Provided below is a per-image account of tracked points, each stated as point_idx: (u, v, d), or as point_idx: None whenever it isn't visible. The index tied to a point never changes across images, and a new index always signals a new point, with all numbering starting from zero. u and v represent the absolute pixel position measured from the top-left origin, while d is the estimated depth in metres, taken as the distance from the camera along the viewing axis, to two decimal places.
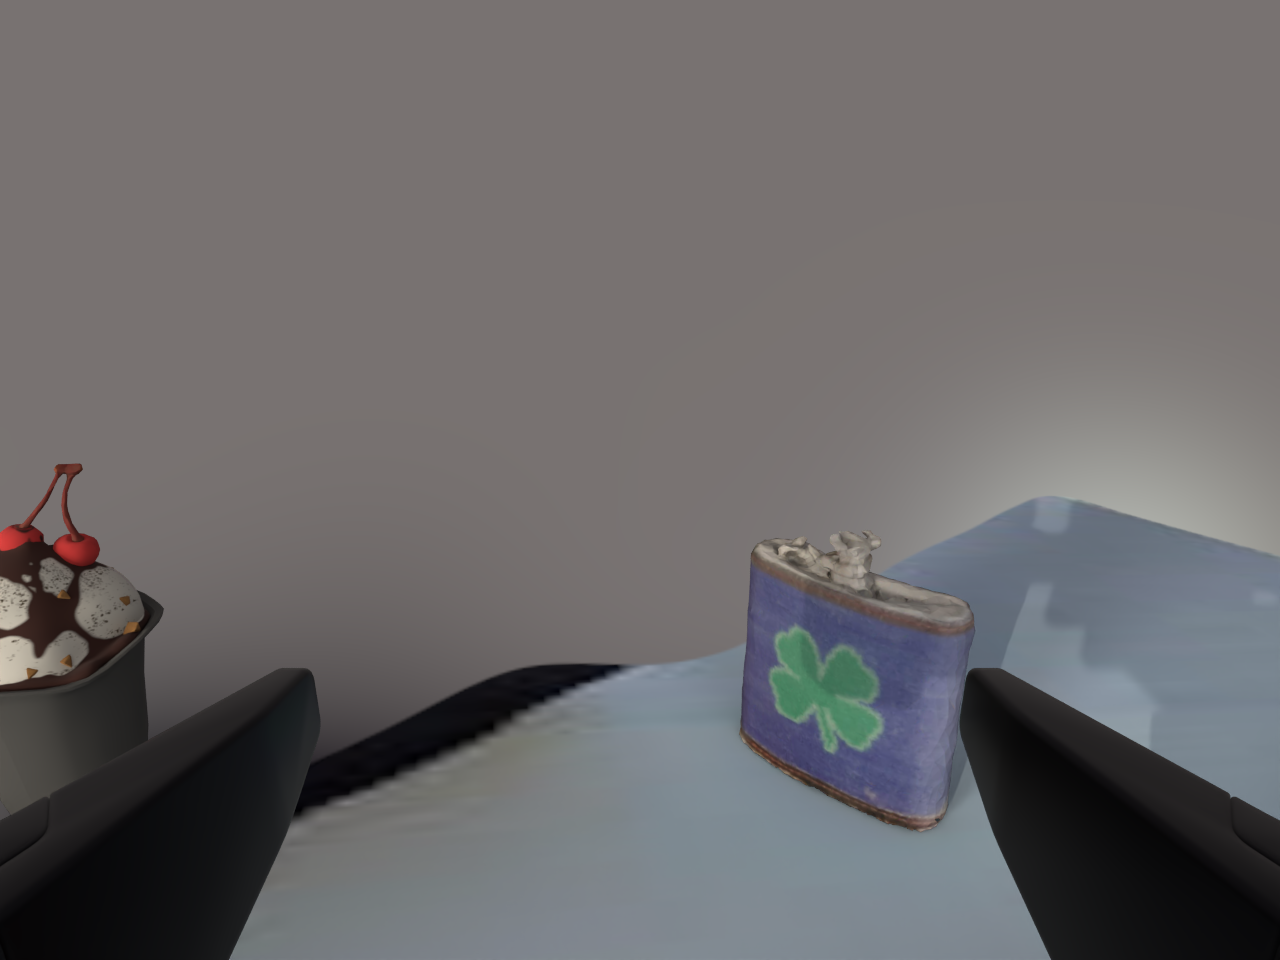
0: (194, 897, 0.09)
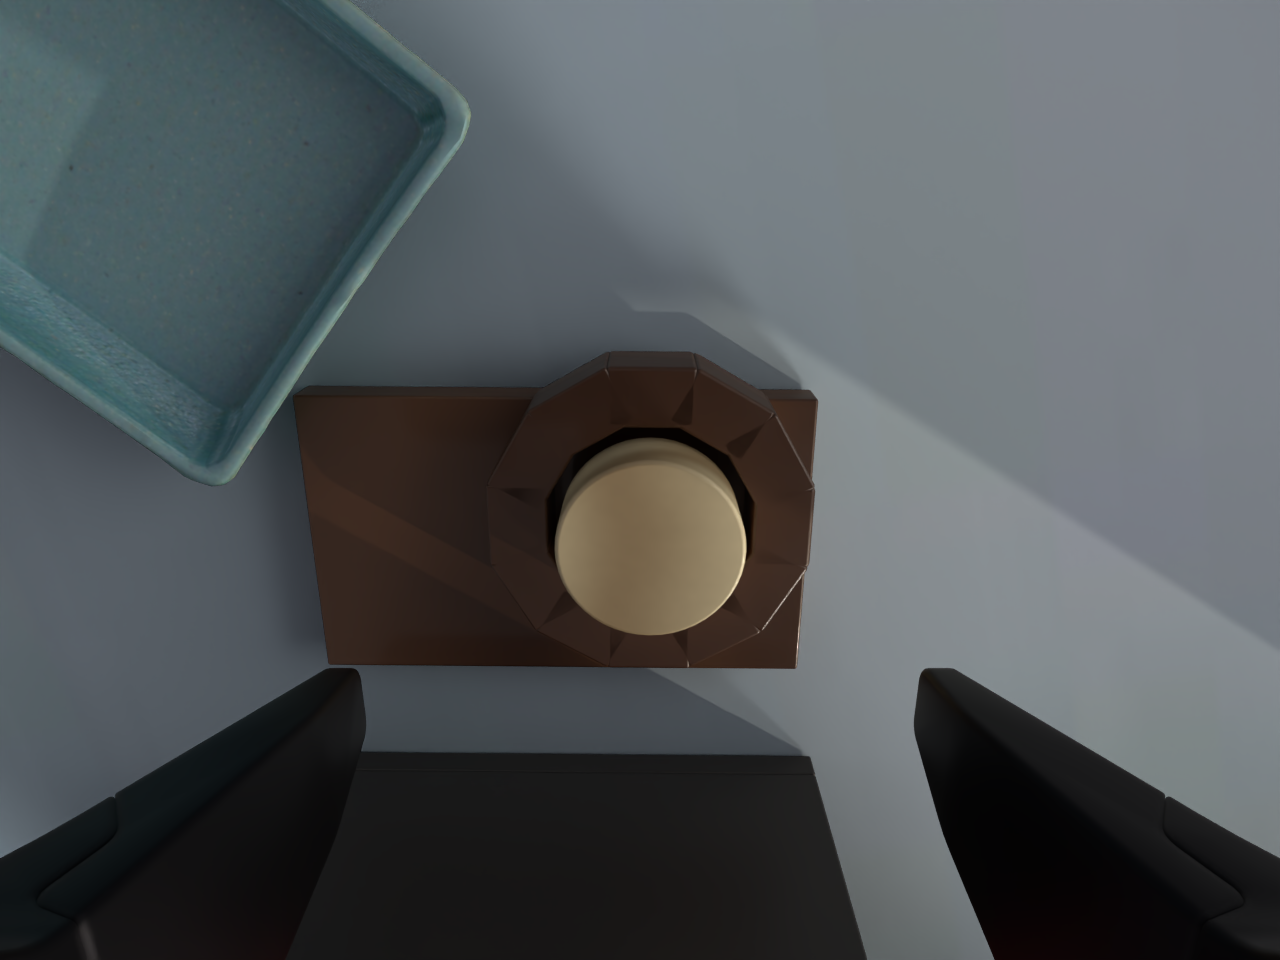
0: (255, 897, 0.09)
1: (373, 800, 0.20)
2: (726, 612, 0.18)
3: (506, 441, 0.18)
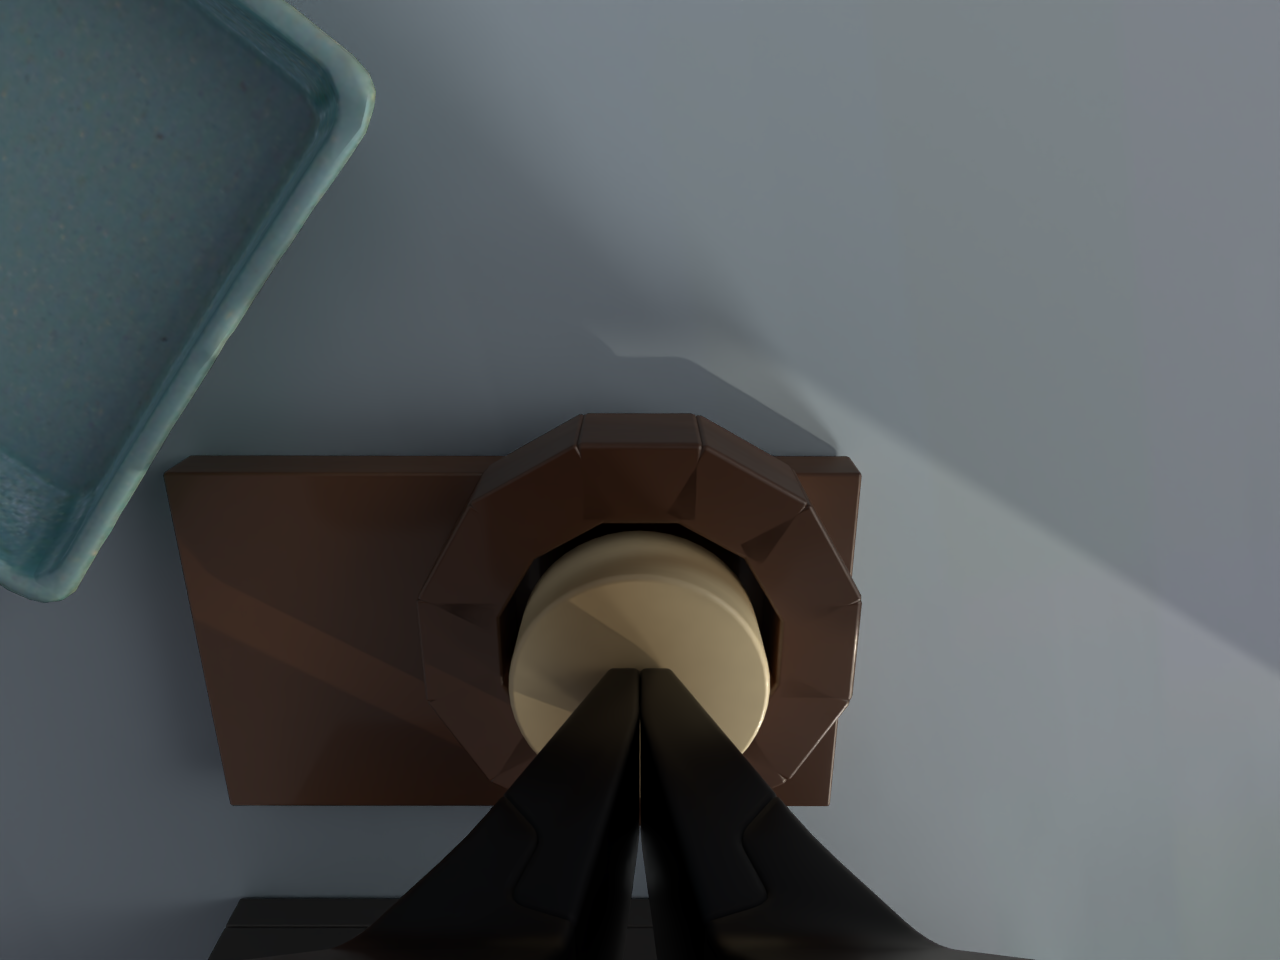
0: (618, 896, 0.09)
1: None
2: None
3: (449, 530, 0.14)
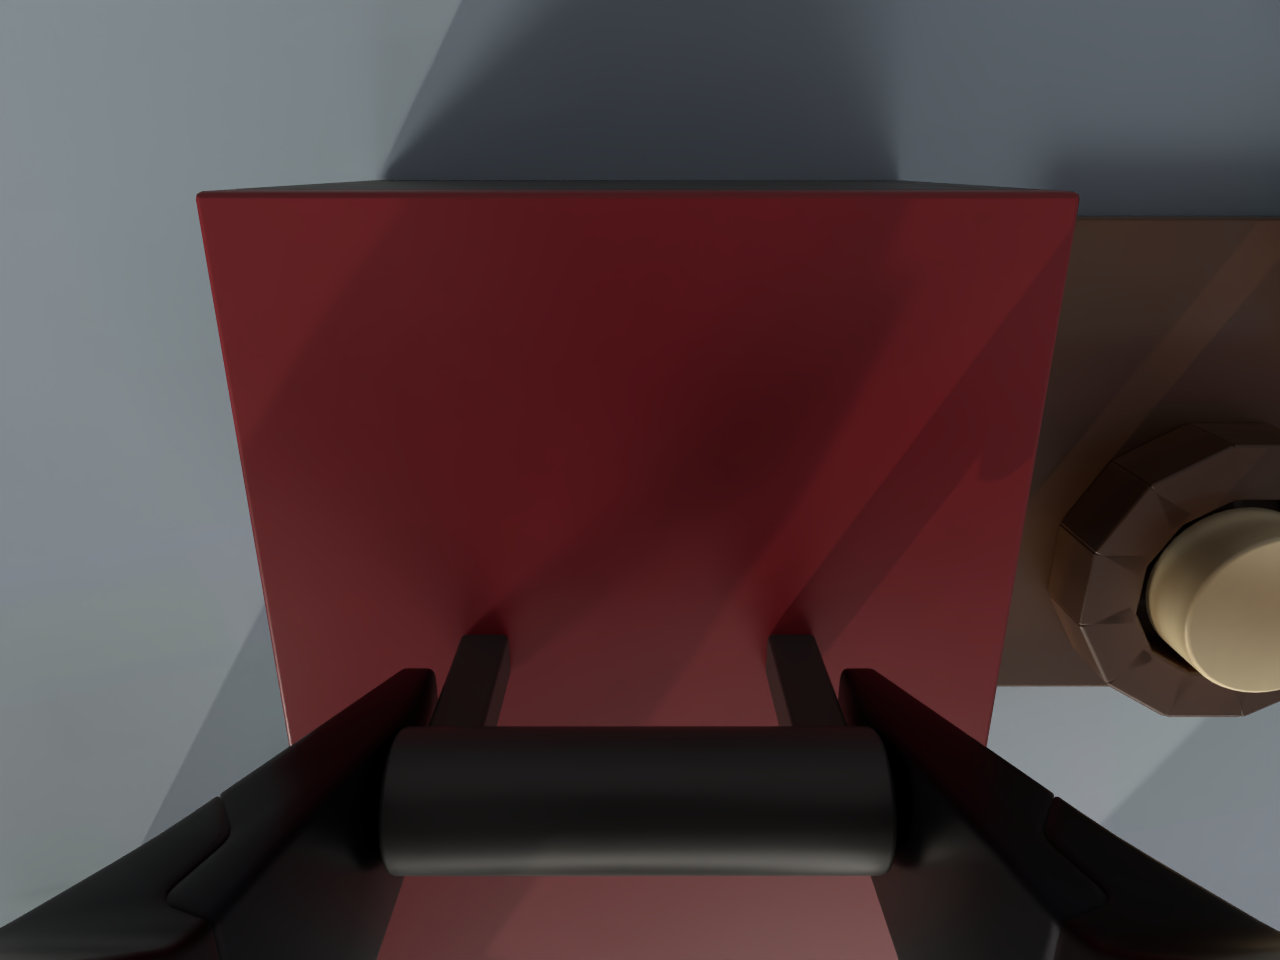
0: (353, 897, 0.09)
1: None
2: (1134, 655, 0.19)
3: None
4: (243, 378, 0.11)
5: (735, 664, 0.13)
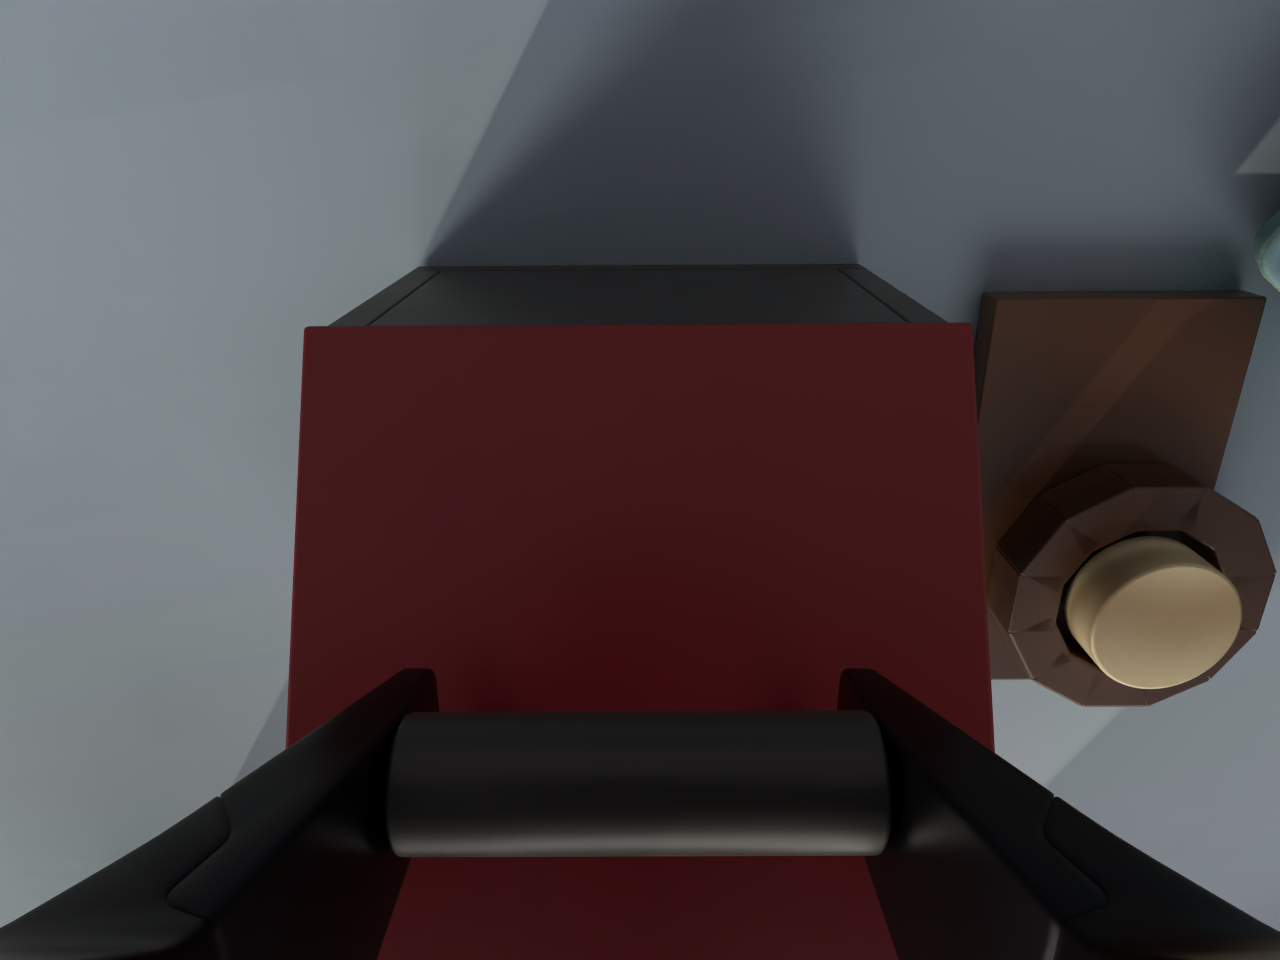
0: (353, 897, 0.09)
1: None
2: (1055, 656, 0.23)
3: (1183, 469, 0.22)
4: (312, 466, 0.14)
5: None
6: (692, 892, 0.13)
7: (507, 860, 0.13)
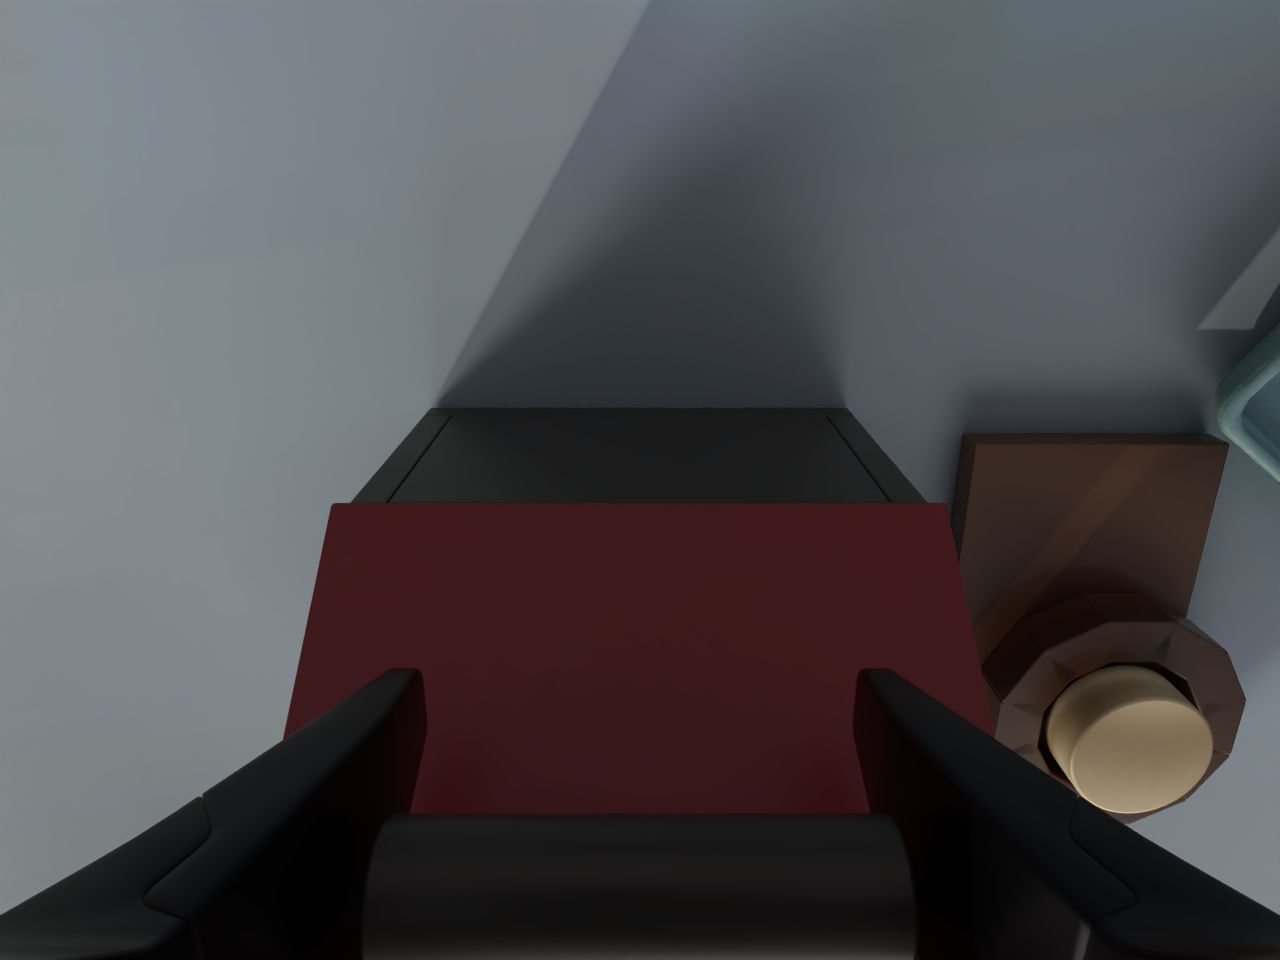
0: (336, 897, 0.09)
1: None
2: None
3: (1156, 599, 0.23)
4: (320, 626, 0.14)
5: None
6: None
7: None
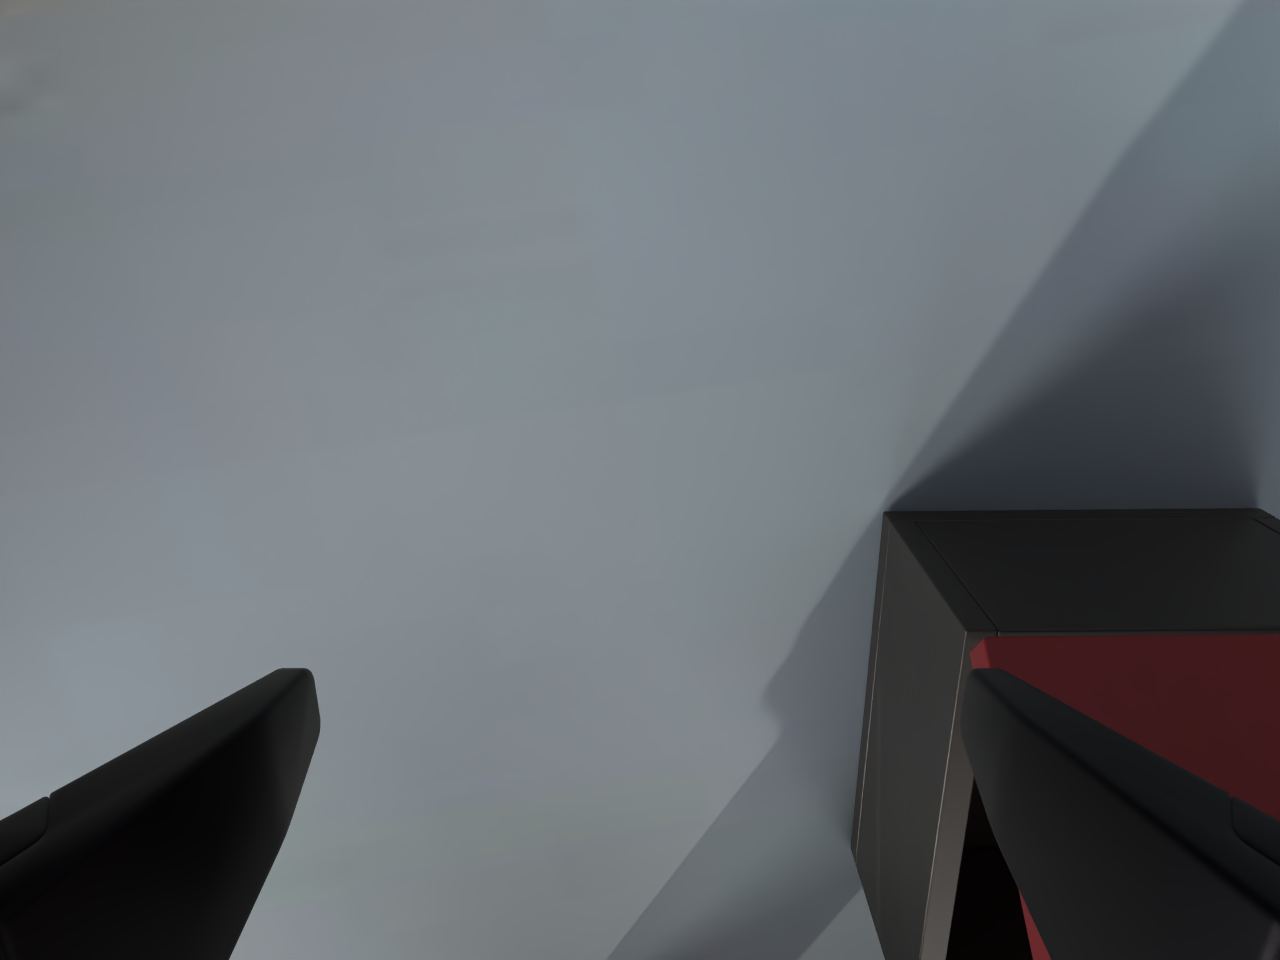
0: (194, 897, 0.09)
1: None
2: None
3: None
4: None
5: None
6: None
7: None
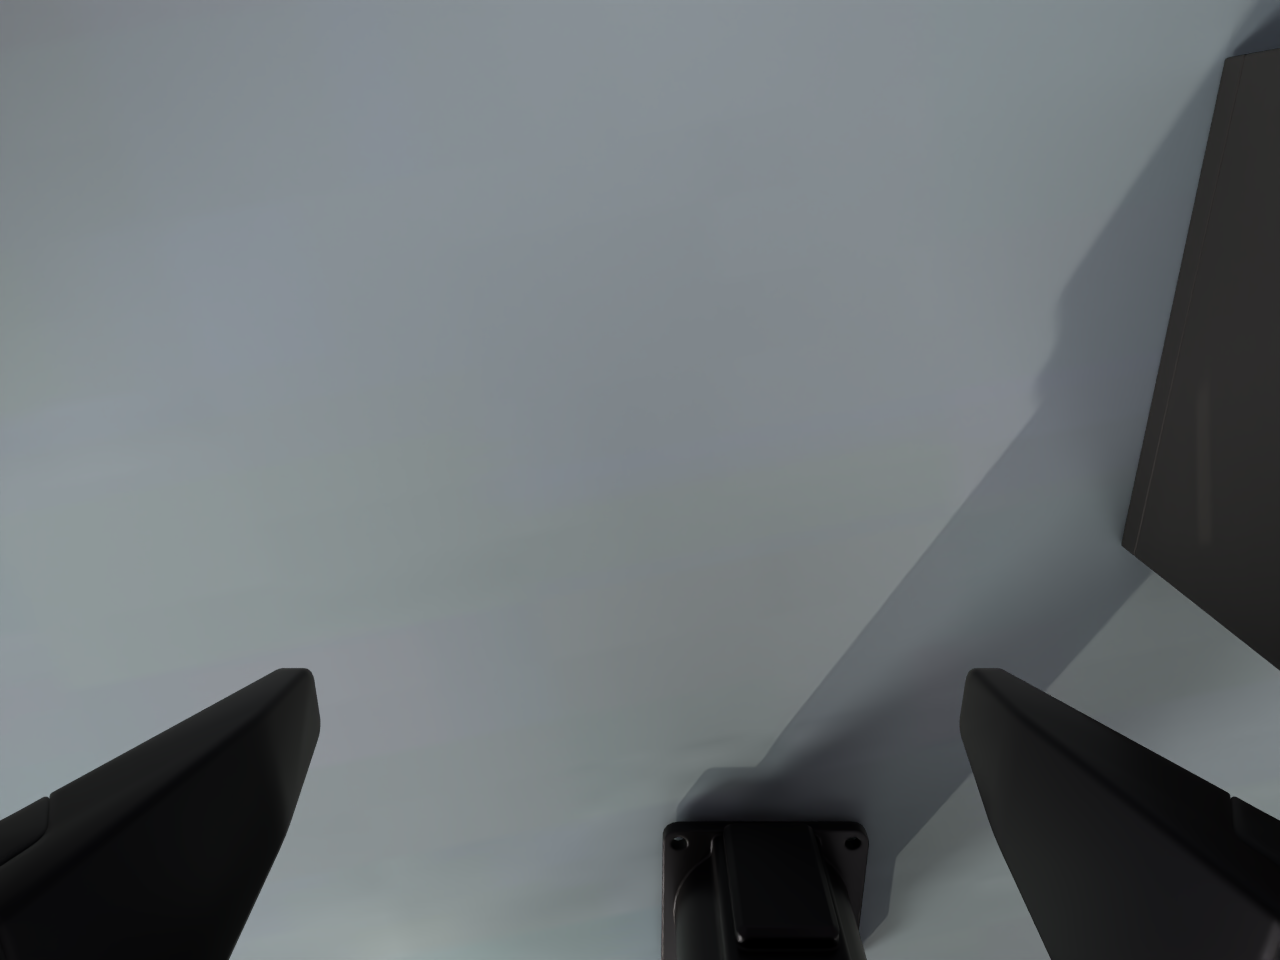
0: (194, 897, 0.09)
1: None
2: None
3: None
4: None
5: None
6: None
7: None
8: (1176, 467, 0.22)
